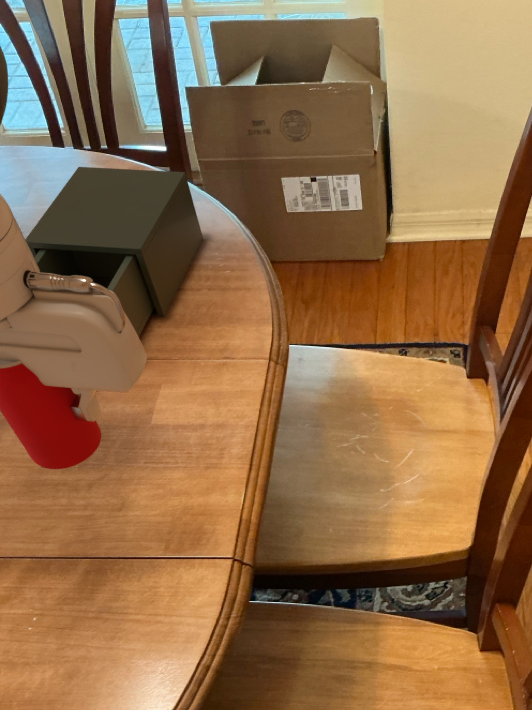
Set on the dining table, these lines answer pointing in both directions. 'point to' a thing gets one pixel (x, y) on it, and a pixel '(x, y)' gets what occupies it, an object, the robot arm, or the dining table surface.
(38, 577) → the dining table surface
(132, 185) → the cabinet
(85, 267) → the drawer
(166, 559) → the dining table surface
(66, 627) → the dining table surface
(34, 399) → the beverage can
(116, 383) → the robot arm
